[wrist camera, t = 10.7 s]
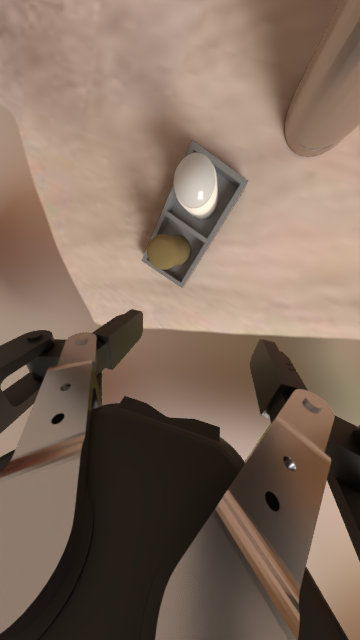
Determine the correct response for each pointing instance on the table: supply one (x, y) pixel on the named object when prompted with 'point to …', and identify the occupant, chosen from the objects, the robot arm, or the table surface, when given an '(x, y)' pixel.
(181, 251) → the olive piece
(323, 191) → the table surface
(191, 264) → the caddy
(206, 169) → the salt shaker
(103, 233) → the table surface
